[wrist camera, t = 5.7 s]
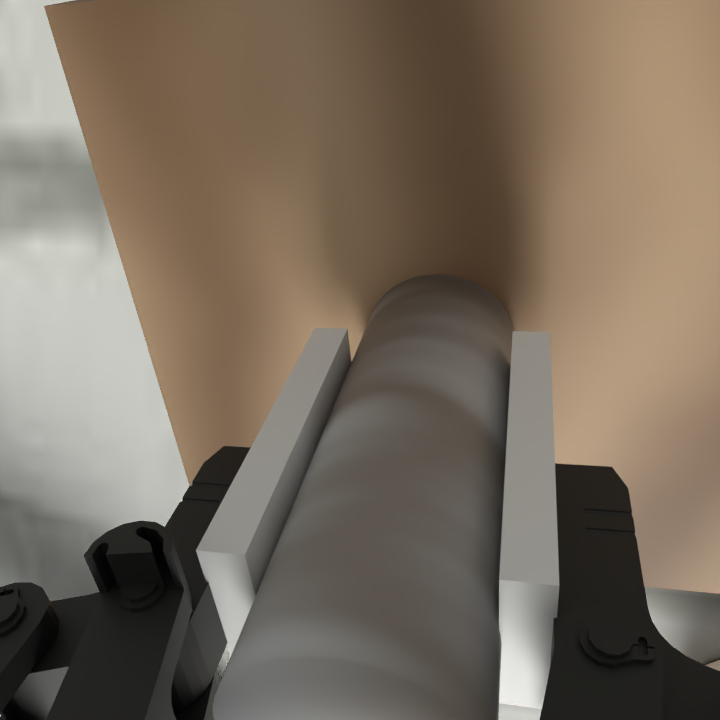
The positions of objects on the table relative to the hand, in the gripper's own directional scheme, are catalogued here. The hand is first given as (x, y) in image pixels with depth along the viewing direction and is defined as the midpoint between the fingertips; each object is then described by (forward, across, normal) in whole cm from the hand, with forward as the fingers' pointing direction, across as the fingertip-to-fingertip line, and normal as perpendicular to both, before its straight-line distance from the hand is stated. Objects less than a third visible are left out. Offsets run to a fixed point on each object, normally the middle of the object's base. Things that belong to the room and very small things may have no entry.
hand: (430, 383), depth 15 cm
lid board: (+3, 0, 0) cm, 3 cm away
